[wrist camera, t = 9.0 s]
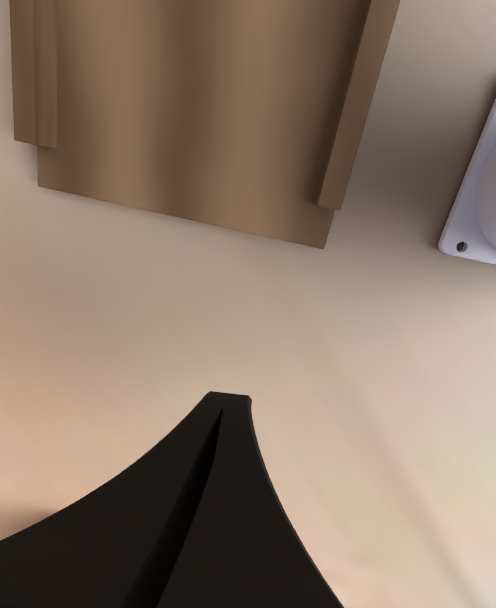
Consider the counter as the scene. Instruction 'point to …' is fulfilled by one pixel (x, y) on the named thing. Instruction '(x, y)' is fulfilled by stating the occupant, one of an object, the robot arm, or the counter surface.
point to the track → (201, 104)
